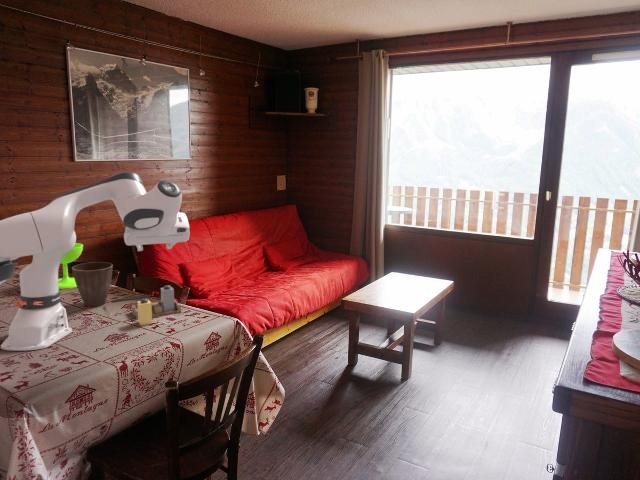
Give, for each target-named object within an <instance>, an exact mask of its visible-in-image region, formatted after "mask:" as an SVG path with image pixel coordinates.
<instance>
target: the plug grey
mask: <svg viewBox="0 0 640 480" xmlns="http://www.w3.org/2000/svg"><path fill="white" fill-rule="evenodd" d="M174 299H175V289H174V287H172V286H171V285H170V284H168V285H164V286H163V287H160V301H161V307H162V311H163V312H170V311H174Z"/></svg>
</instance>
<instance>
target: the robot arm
mask: <svg viewBox="0 0 640 480" xmlns="http://www.w3.org/2000/svg"><path fill="white" fill-rule="evenodd" d="M107 200H110V201H113V203H114V205H115V208H116V210H117V213H118V215H119V217H120V219H121V220H122V224H123V225H124V226H125V228H124V233H123V240H124V244H125V245H126V246H135V247H136V249H137V252H142V251H144V247H143V245H157V244H158V245H159V244H165V245H166V246H165V247H166V249H167V250H171V249H172V248H173V246H175V245H177V244H178V243H186V242H188V241H189V240H190V235H191V232H190V224H189V223H190V222H189V220H188V216H187V215H186V213H185V212H180V209H181V206H182V203H183V202H182V200H183V193H182V190H181V189H180V187H179V186H178V185H177V184H176V183H175V182H172V181H170V180H165V179H164V180H160V181H158V182H157V183H156V185H155V186H154V187H153V188H152V189H150V190H149V191H147V190H146V187H145V185H144V182H143V179H142V177H141V176H140V175H139V174H137V173H134V172H129V171H123V172H122V171H121V172H118V173H116V174H114V175H112V176H110V177H108V178H106V179H103V180H100V181H97V182H95V183H91V184H87V185H85V186H82V187H78V188H75V189H73V190H71V191H67V192H64V193H62V194H59V195H58V196H55V197H54V198H53V199H51V200H50V203H49V204H48V205H46V206H44V207H42V208H39V209H37V210H33V211H30V212H29V211H28V212H24V213H21V214H16V215H13V216H10V217H7V218H4V219H1V220H0V285H2V284H4V283H5V282H7V281H8V280H10V279H11V278H12V277H13V275H14V273H15V270H16V269H15V268H16V266H18V264H19V263H18V262H14V263H13V261H14V260H17V259H18V258H21V257H27V256H32V261H31V263H29V264H28V265H26V266H25V267H23V268H22V269H21V271H20V273H19V287H20V295H19V298H18V300H15V301H14V307H15V308H16V307H18V310H17V312H16V314H15V315H14V318H13V320H12V322H11V323H10V326H9V328H8V336H7V337H6V338H5V340H4V341H3V342H2V344H0V349H1V350H5V351H21V352H22V351H34V350H35V351H36V350H42V349H46V348H48V347H50V346H52V345H53V344H55V343H56V342H58V341H60V340H61V339H63V338H65V337H66V336H68V335H70V334H71V333H72V332H73V328H72V327H70V326H69V322H68V316H67V315H68V314H67V311H66V308H65V307H64V306H63V304H62V303H61V301H62V294H61V289H59V286H58V279H59V268H60V264H61V263H60V262H61V260H62V258H63V257H64V256H65V255H66V254H67V253H68V252H69V251H71V249H72V248H73V247H74V245H75V243H77V242H76V241H77V234H76V231H75V226H76V225H75V223H76V218H77V215H78V213H79V212H80V211H81V210H83V209H84V208H86V207H87V208H88V207H90V206H93V205H95V204H98V203H101V202H104V201H107Z"/></svg>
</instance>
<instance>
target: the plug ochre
mask: <svg viewBox="0 0 640 480" xmlns="http://www.w3.org/2000/svg"><path fill="white" fill-rule="evenodd" d="M136 303H137V304H136V305H138V320H137V323H138V324H139V326H145V325H152V324H153V317H152V304H151V301H150V300H149V298H144V299H140V300H138V301H137V302H136Z"/></svg>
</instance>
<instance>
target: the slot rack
mask: <svg viewBox="0 0 640 480" xmlns="http://www.w3.org/2000/svg"><path fill="white" fill-rule="evenodd" d="M150 302H151V301H150ZM151 304H152V318H157V317H163V316H168V315H169V316H170V315H175V314H181V313H182V307H181V303H179V302H178V301H177V300H176V299H175V298H174V311H170V312H163V311H162V307H161V300H159V301H154V302H151ZM131 313H132V315H133V316H134V317H135V319H136V320H137V321H138V305H137V304H132V305H131Z"/></svg>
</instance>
